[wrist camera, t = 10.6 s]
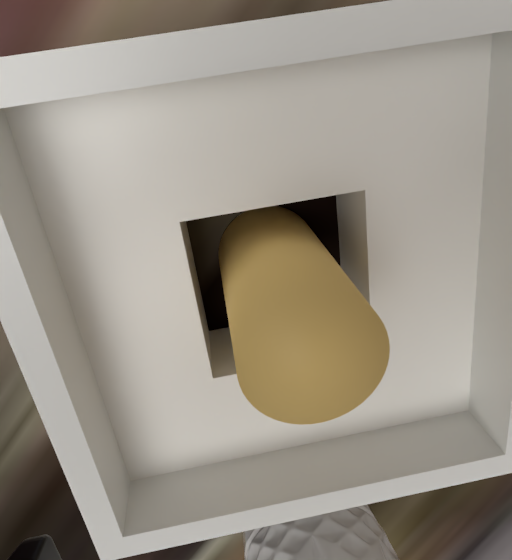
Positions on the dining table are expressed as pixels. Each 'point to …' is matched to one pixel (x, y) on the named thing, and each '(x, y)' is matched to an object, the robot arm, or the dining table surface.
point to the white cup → (322, 538)
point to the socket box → (247, 196)
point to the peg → (297, 321)
